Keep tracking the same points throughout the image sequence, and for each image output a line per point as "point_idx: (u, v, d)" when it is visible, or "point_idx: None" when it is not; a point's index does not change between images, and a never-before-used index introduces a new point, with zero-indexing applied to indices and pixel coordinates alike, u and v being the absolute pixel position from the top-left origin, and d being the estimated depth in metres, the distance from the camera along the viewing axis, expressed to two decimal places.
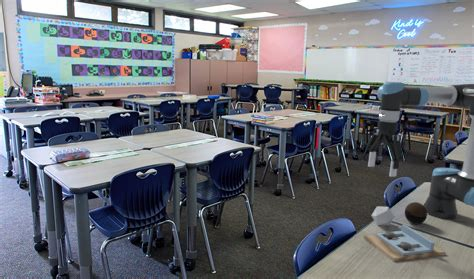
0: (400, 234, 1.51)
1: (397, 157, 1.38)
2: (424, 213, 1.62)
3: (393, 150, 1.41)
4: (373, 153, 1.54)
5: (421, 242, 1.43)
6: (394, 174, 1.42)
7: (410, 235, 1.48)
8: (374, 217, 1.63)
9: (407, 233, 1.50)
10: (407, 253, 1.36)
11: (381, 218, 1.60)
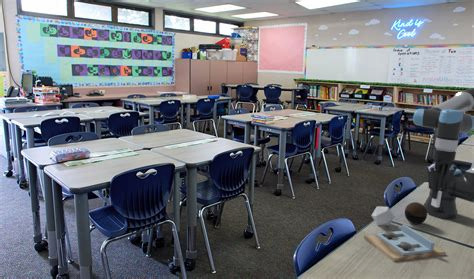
0: (400, 234, 1.51)
1: None
2: (424, 213, 1.62)
3: None
4: None
5: (421, 242, 1.43)
6: (434, 204, 1.44)
7: (410, 235, 1.48)
8: (374, 217, 1.63)
9: (407, 233, 1.50)
10: (407, 253, 1.36)
11: (381, 218, 1.60)
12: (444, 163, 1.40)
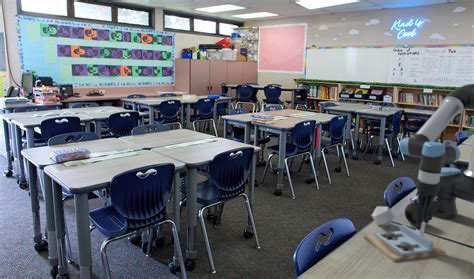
0: (399, 234, 1.51)
1: None
2: None
3: None
4: None
5: (420, 242, 1.42)
6: None
7: (409, 235, 1.48)
8: (374, 217, 1.63)
9: (406, 233, 1.50)
10: (406, 253, 1.35)
11: (381, 218, 1.60)
12: (427, 195, 1.41)
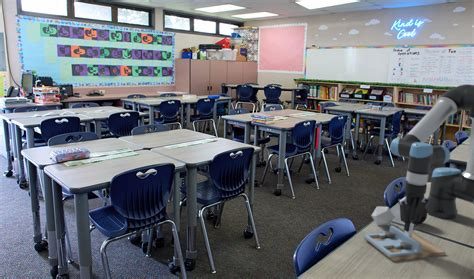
0: None
1: None
2: (424, 213, 1.62)
3: None
4: None
5: None
6: None
7: (398, 236, 1.47)
8: (374, 217, 1.63)
9: None
10: (394, 255, 1.34)
11: (381, 218, 1.60)
12: (415, 196, 1.40)
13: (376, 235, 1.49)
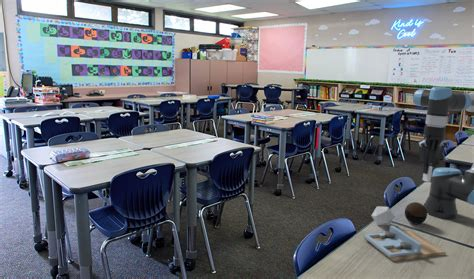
0: None
1: None
2: (424, 213, 1.62)
3: None
4: None
5: None
6: (425, 179, 1.50)
7: (398, 236, 1.47)
8: (374, 217, 1.63)
9: None
10: (394, 255, 1.34)
11: (381, 218, 1.60)
12: (434, 139, 1.46)
13: (376, 235, 1.49)
